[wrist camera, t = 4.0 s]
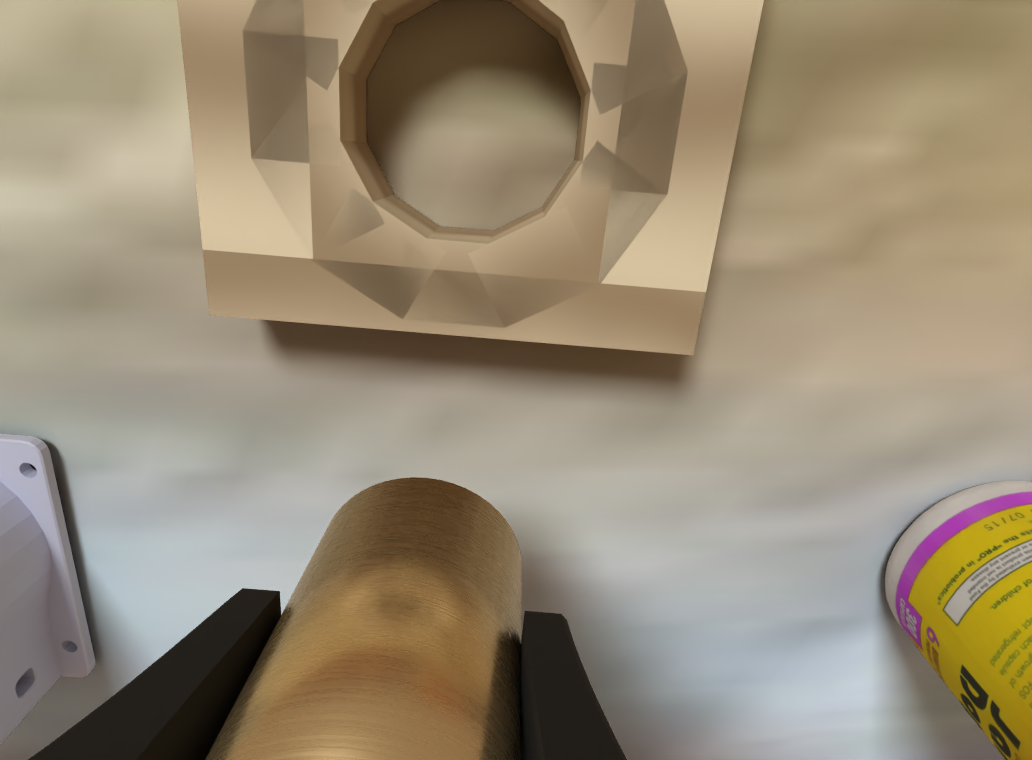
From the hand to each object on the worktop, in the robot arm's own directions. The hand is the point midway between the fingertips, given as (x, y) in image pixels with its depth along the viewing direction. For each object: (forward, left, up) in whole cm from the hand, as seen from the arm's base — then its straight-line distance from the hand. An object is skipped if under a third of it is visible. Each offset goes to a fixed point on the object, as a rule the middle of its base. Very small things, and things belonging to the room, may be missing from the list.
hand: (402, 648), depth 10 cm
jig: (+8, 0, -9) cm, 12 cm away
